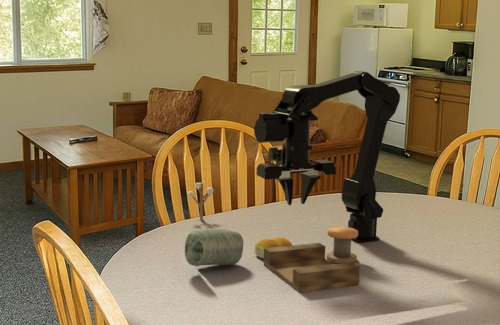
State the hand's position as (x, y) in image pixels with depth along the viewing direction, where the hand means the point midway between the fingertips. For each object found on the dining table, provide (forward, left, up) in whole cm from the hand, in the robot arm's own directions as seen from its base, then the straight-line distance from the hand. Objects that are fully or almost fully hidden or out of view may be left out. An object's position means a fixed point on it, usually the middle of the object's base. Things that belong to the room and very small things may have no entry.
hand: (296, 204), depth 161 cm
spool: (+25, +6, -12) cm, 28 cm away
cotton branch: (+14, -31, -12) cm, 36 cm away
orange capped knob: (-8, +10, -12) cm, 17 cm away
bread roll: (+4, 0, -12) cm, 13 cm away
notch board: (+4, +17, -12) cm, 21 cm away
